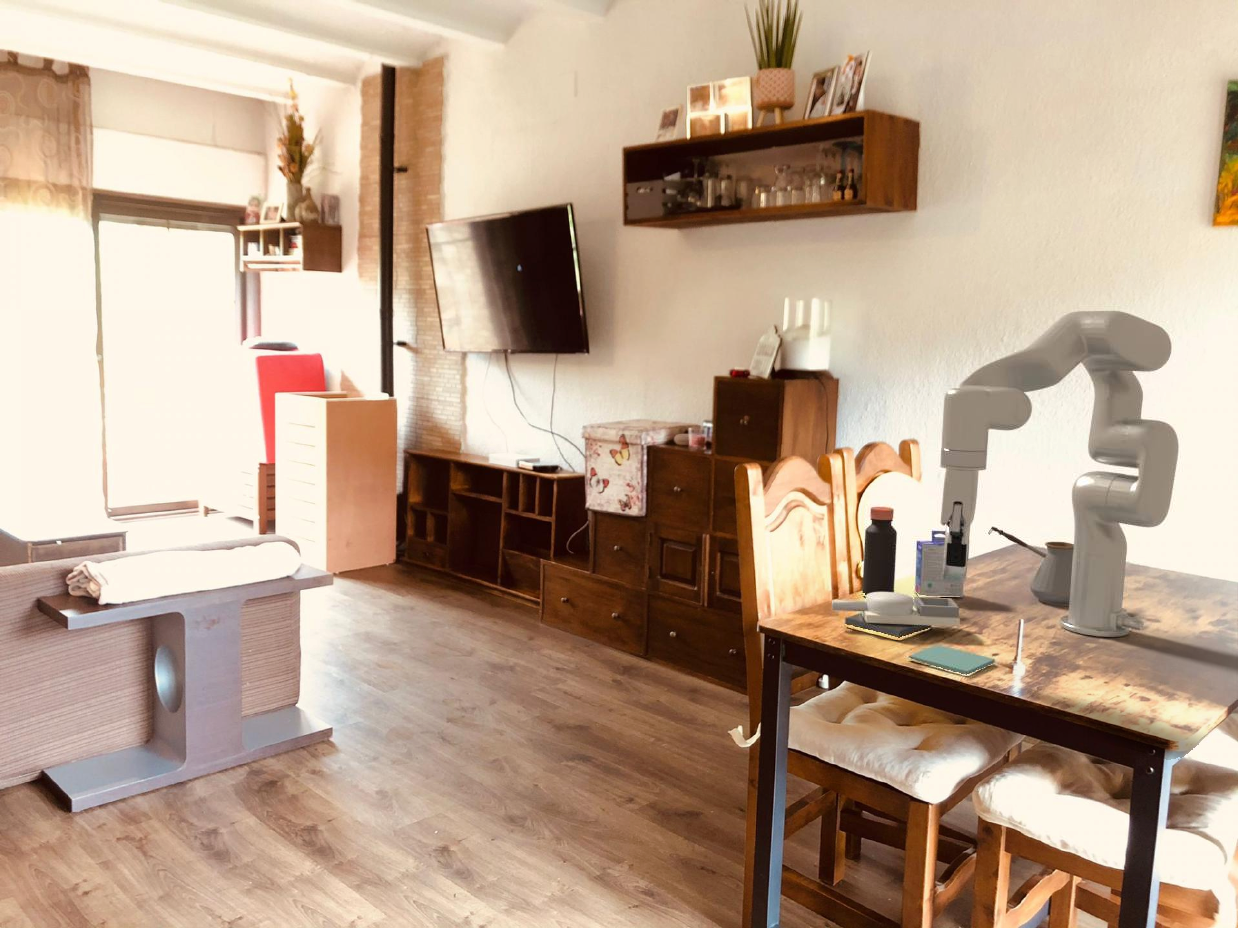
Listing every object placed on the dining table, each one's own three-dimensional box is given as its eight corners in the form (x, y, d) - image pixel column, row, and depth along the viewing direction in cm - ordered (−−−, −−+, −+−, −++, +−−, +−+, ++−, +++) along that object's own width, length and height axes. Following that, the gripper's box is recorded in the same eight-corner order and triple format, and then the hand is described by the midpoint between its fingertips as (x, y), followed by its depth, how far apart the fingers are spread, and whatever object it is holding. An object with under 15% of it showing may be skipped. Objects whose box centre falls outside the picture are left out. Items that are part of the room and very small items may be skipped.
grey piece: (969, 578, 174) (973, 523, 173) (960, 582, 171) (965, 525, 170) (947, 574, 177) (951, 519, 175) (938, 578, 174) (942, 522, 172)
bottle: (871, 601, 217) (876, 511, 214) (856, 593, 223) (860, 506, 221) (899, 600, 218) (904, 510, 216) (883, 592, 225) (887, 505, 222)
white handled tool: (834, 621, 193) (835, 601, 192) (829, 608, 202) (830, 589, 201) (959, 626, 190) (960, 606, 190) (948, 613, 199) (950, 594, 199)
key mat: (994, 664, 175) (994, 658, 175) (966, 676, 168) (967, 671, 168) (937, 649, 183) (937, 644, 183) (908, 660, 176) (909, 655, 176)
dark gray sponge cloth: (931, 629, 196) (931, 619, 196) (898, 641, 188) (899, 631, 188) (878, 616, 205) (878, 607, 204) (844, 627, 197) (845, 617, 196)
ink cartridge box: (956, 592, 226) (960, 530, 224) (964, 599, 220) (968, 535, 218) (912, 591, 226) (916, 529, 224) (919, 598, 220) (923, 534, 219)
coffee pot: (1090, 600, 221) (1095, 534, 219) (1078, 611, 212) (1083, 542, 210) (992, 585, 233) (996, 522, 232) (977, 594, 224) (981, 529, 222)
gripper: (946, 453, 180) (940, 552, 183) (934, 463, 165) (928, 570, 167) (990, 456, 177) (983, 556, 180) (982, 466, 162) (975, 575, 164)
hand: (957, 562), depth 173 cm, fingers closed on grey piece, 4 cm apart
